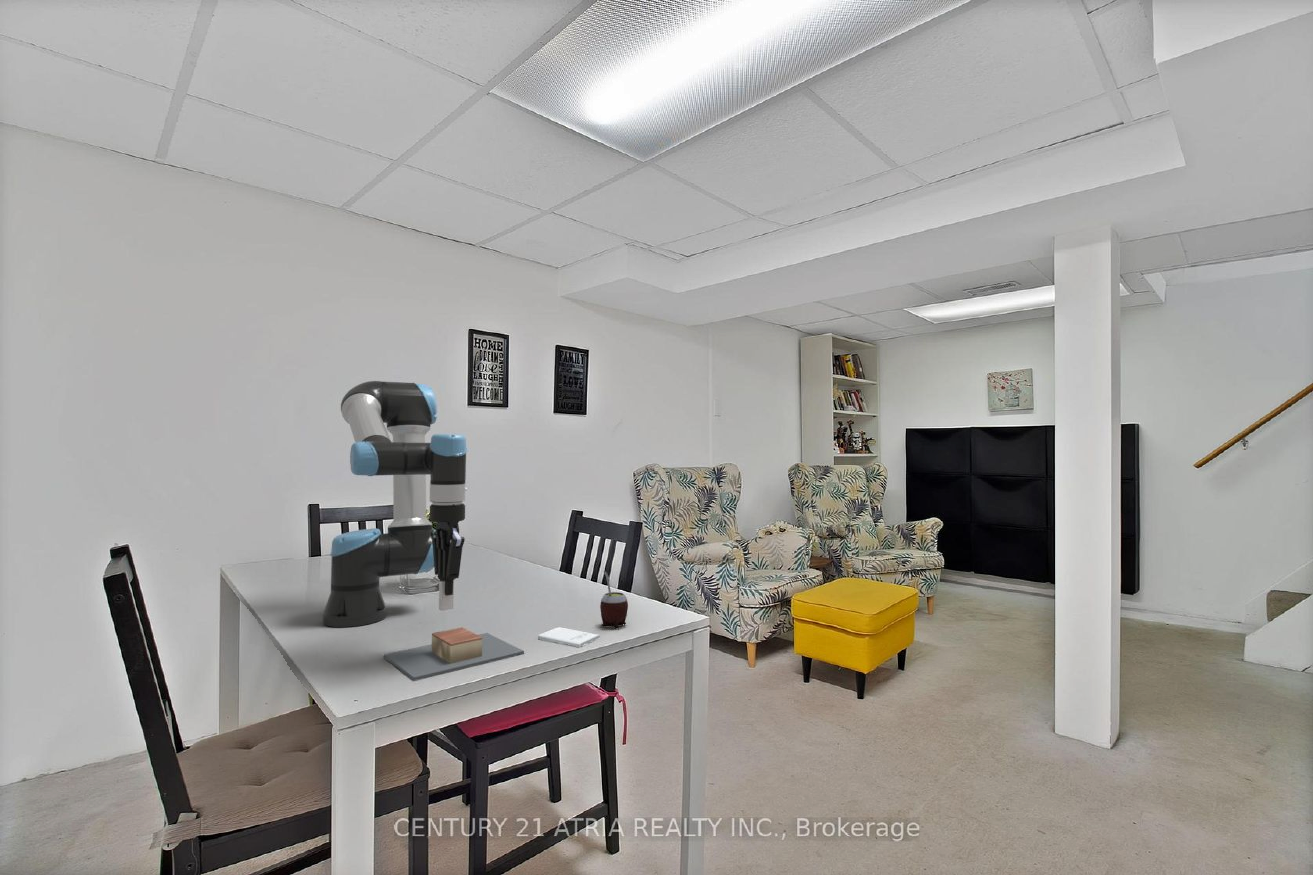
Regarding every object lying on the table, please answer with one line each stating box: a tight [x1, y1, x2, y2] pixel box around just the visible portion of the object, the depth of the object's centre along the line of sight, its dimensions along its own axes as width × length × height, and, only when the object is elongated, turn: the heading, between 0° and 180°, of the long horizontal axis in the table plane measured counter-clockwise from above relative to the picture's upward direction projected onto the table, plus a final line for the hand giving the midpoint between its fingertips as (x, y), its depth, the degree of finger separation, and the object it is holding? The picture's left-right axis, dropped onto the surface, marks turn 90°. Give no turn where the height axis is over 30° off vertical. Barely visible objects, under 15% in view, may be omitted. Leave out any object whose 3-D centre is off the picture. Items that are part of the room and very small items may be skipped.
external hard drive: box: [537, 626, 601, 648], centre depth 145 cm, size 2×8×12 cm
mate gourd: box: [599, 570, 629, 629], centre depth 156 cm, size 8×8×15 cm
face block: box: [431, 627, 482, 664], centre depth 132 cm, size 4×7×10 cm
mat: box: [383, 632, 525, 681], centre depth 133 cm, size 18×24×1 cm
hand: (446, 608), depth 135 cm, fingers closed
